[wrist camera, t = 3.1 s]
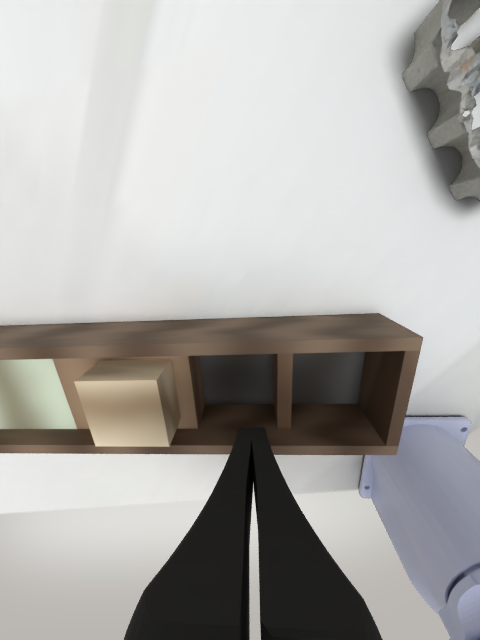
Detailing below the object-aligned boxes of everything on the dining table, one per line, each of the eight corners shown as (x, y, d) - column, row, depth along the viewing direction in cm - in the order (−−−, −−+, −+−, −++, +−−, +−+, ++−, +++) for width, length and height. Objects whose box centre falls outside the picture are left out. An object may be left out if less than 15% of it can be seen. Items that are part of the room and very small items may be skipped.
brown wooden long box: (379, 313, 17) (423, 337, 12) (364, 408, 19) (396, 455, 15) (-26, 326, 19) (-108, 351, 14) (12, 411, 21) (-47, 452, 17)
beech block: (180, 418, 17) (169, 446, 15) (117, 418, 17) (95, 446, 15) (171, 359, 15) (156, 380, 13) (100, 360, 16) (74, 381, 13)
